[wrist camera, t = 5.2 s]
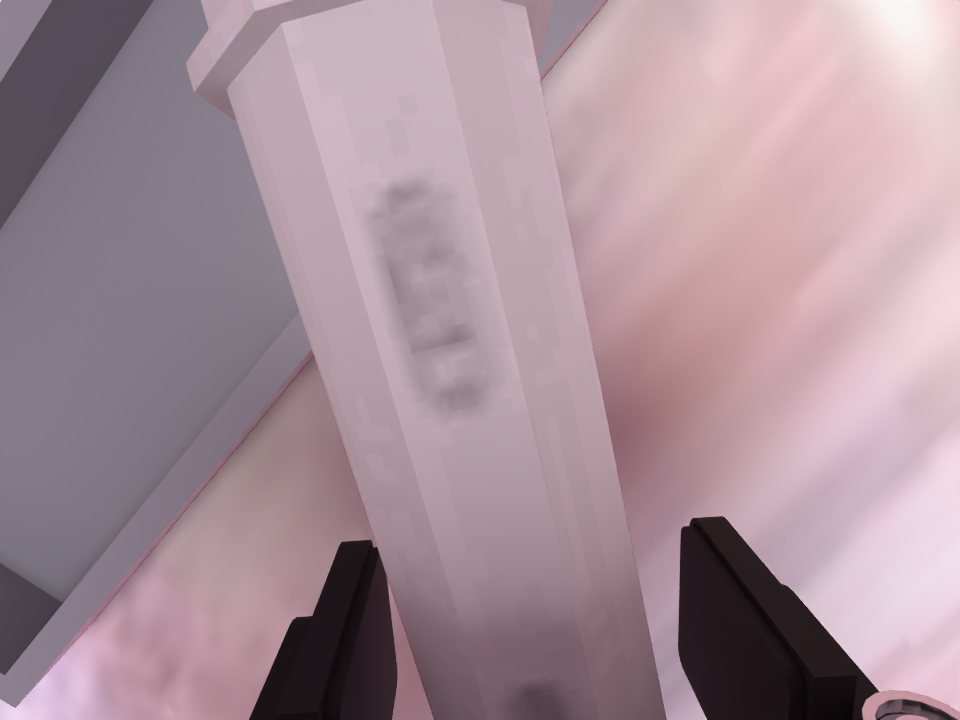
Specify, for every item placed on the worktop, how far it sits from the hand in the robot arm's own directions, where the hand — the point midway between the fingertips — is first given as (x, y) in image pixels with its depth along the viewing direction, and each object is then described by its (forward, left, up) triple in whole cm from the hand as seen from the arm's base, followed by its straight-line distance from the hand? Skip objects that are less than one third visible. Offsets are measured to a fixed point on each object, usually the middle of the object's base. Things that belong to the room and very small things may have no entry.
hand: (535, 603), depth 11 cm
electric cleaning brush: (0, 0, -1) cm, 1 cm away
